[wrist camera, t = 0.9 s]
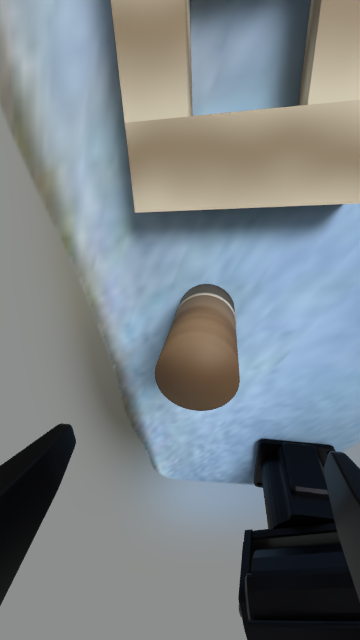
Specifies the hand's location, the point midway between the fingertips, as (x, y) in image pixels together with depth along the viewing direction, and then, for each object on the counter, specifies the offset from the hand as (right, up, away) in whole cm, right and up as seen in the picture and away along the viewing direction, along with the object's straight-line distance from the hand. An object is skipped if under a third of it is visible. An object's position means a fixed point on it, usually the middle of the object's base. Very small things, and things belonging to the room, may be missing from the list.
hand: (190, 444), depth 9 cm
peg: (+2, +5, +10) cm, 12 cm away
